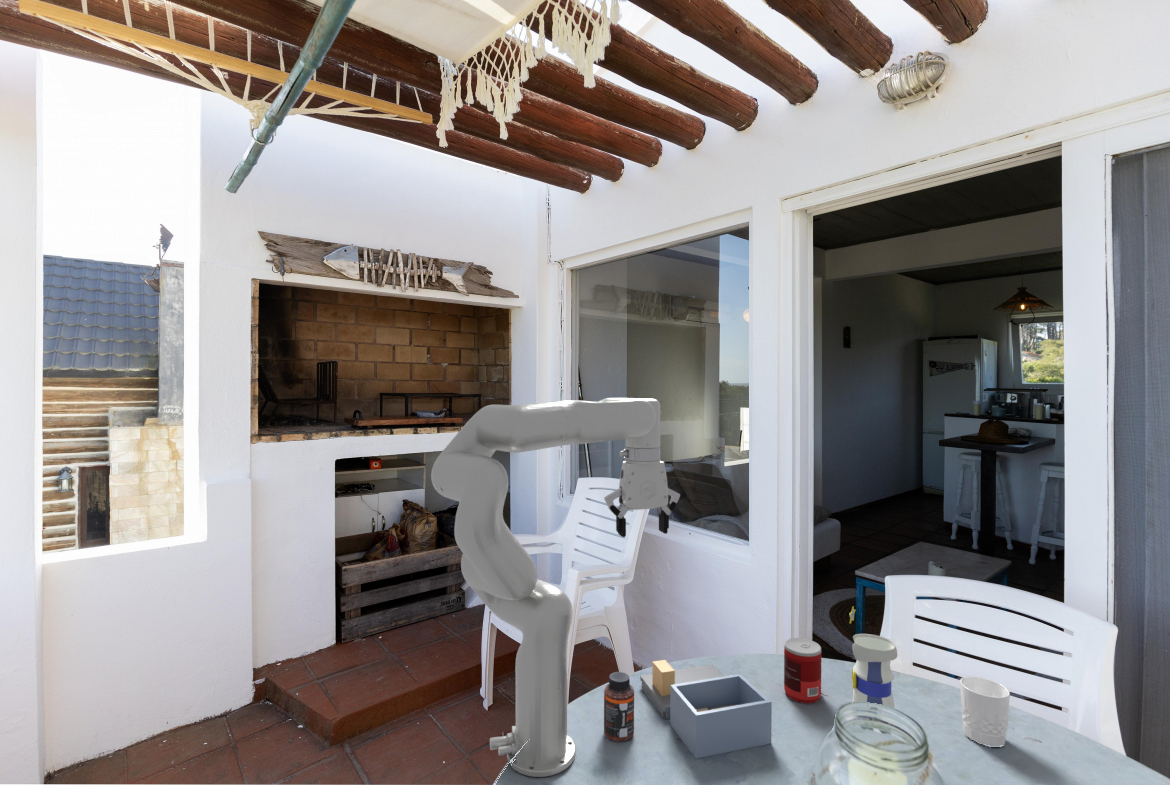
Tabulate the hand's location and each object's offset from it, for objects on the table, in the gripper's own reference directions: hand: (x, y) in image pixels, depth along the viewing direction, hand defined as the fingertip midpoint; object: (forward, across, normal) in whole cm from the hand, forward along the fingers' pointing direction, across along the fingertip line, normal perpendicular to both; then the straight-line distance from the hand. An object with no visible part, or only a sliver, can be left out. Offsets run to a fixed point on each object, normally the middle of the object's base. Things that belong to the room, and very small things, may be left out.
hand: (642, 533), depth 122 cm
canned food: (+36, +35, -8) cm, 51 cm away
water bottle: (+36, +37, -26) cm, 58 cm away
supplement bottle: (+36, -9, -10) cm, 39 cm away
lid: (+36, +11, -2) cm, 38 cm away
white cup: (+36, +59, -31) cm, 76 cm away
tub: (+36, +10, -16) cm, 41 cm away
